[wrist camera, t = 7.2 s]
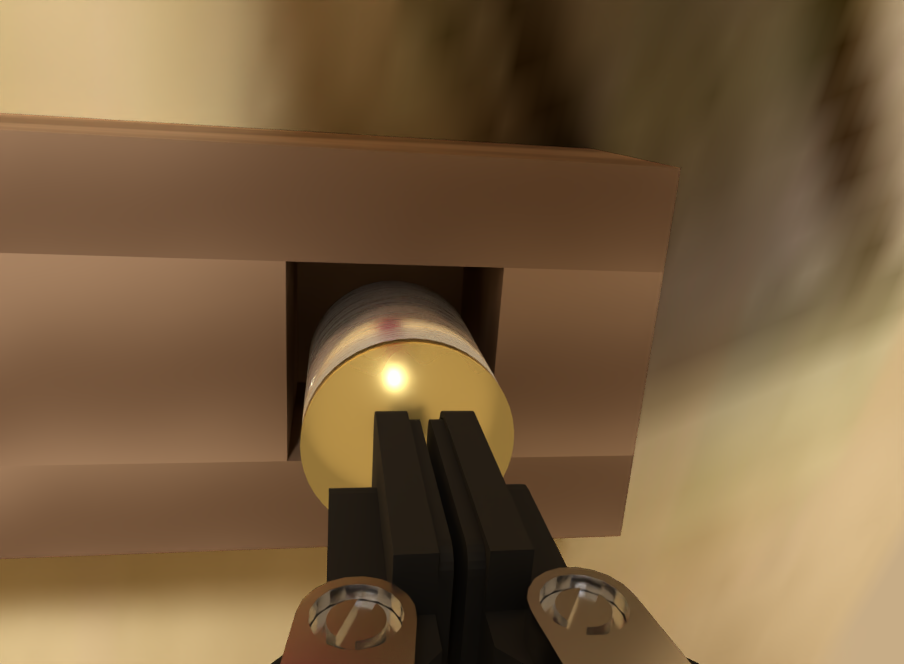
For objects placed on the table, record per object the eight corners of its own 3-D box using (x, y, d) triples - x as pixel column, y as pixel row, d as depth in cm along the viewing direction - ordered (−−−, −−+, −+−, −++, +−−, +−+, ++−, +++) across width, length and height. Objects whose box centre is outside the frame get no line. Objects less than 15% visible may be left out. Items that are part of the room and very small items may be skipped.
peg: (309, 277, 16) (299, 342, 12) (477, 282, 17) (523, 345, 13) (308, 433, 18) (300, 540, 13) (465, 431, 18) (503, 533, 14)
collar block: (-395, 89, 18) (-734, 88, 12) (593, 148, 22) (680, 168, 16) (-289, 446, 21) (-521, 577, 15) (557, 436, 25) (620, 535, 20)
